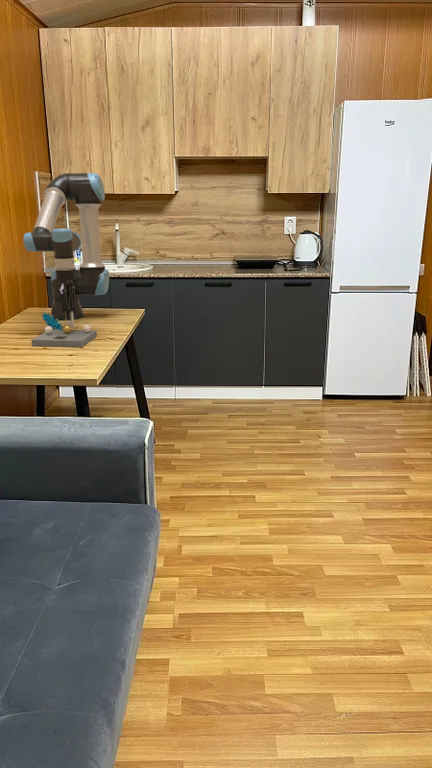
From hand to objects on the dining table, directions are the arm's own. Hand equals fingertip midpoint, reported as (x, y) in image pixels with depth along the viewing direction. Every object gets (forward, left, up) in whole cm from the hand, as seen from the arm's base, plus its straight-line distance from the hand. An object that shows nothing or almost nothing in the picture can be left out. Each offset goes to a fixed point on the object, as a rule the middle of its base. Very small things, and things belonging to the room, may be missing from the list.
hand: (70, 327), depth 229 cm
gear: (-12, -13, -4) cm, 18 cm away
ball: (+3, 0, 0) cm, 3 cm away
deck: (+6, 0, -4) cm, 8 cm away
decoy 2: (+1, +7, 0) cm, 8 cm away
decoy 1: (+5, -7, 0) cm, 9 cm away
